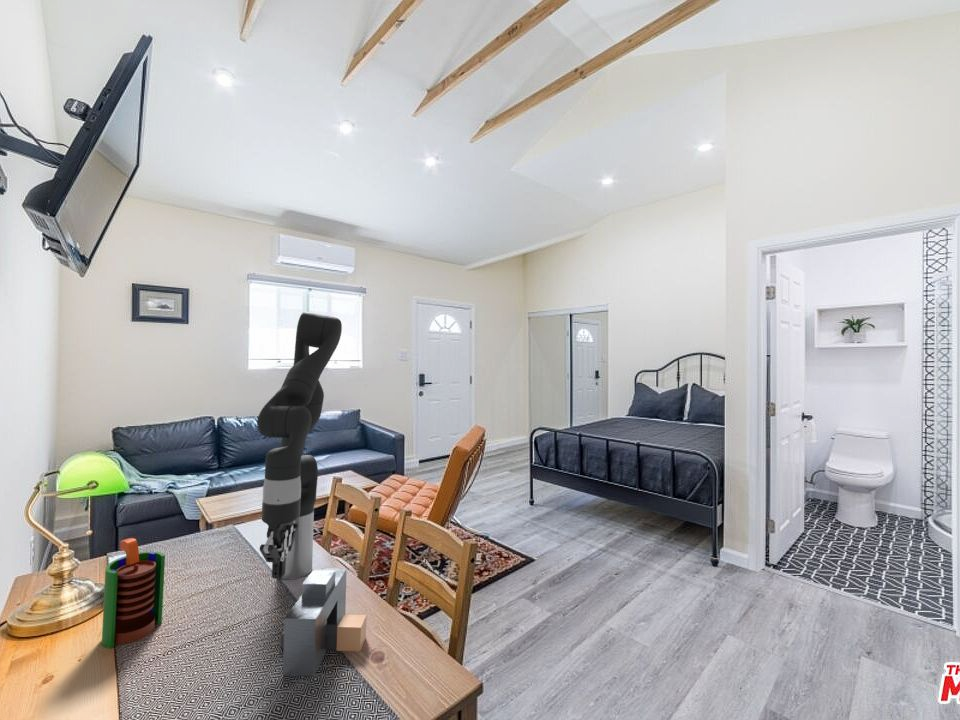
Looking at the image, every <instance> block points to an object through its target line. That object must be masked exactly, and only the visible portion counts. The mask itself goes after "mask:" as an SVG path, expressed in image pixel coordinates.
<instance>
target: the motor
mask: <svg viewBox="0 0 960 720" xmlns="http://www.w3.org/2000/svg"><path fill="white" fill-rule="evenodd" d="M119 551H123V552H125V554H126V556H124V557H121V558H119V559H116V560H114V561H112V562H111V563H109V564H108V563H107V565H106V567H105V571H104V572H105V573H104V589H103V591H104V593H103V609H102V610H103V612H102V614H103V615H102V627H101V629H102V630H101V631H102V633H101V645H102V646H103V647H105V648H106V649H107V648H108V649H112V648H114V647H115V645H127V644H131V643H134V642H137V641H139V640H142V639H144V638H146V637H147V636H149V635H150V634H151V633H153V631H154V630H155V627H156V624H157V625H159V626H160V625H162V624H163V621H162V620H163V607H164V605H163V604H164V602H163V601H164V585H165V583H164V582H165V562H166V560H165V559H166V554H164V553H163V552H161V551H153V550H152V551H142V552H140V551H139V544H138V541H137V539H136V538H134V537H130V538H129V537H128V538H125V539H122V540H120V546H119Z"/></svg>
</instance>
